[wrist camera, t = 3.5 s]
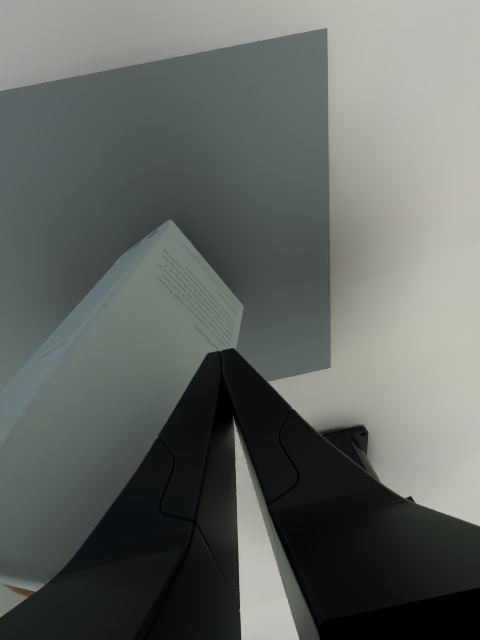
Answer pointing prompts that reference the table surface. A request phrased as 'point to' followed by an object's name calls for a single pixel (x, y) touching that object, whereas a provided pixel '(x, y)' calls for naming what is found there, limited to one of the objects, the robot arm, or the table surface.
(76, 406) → the skincare box
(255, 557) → the table surface
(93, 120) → the mat
